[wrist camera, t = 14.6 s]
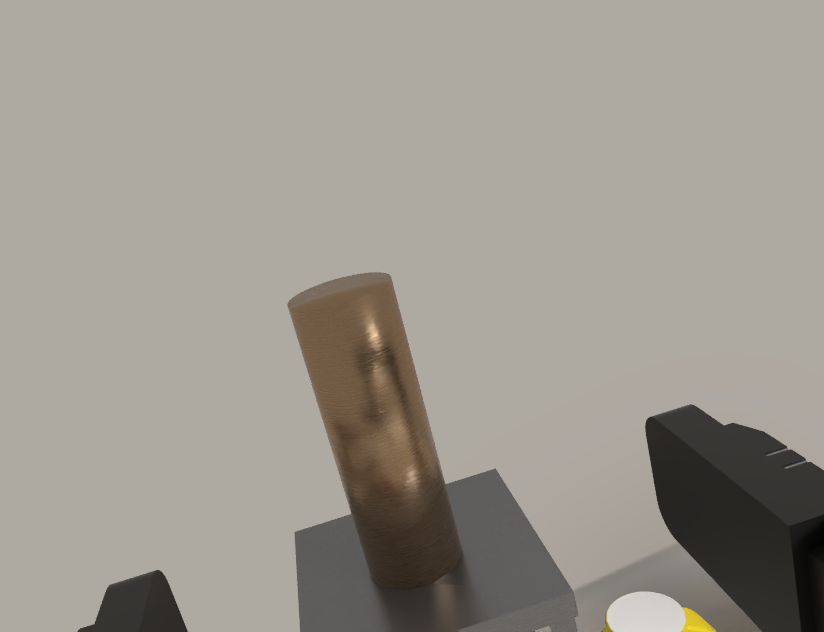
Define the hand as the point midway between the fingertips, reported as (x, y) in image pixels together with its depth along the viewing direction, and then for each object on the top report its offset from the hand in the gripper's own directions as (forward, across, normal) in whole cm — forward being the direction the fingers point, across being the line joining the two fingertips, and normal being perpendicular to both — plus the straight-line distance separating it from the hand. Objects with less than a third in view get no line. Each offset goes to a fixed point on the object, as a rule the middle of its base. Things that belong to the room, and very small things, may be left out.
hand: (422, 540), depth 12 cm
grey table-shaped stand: (+10, 0, +18) cm, 21 cm away
